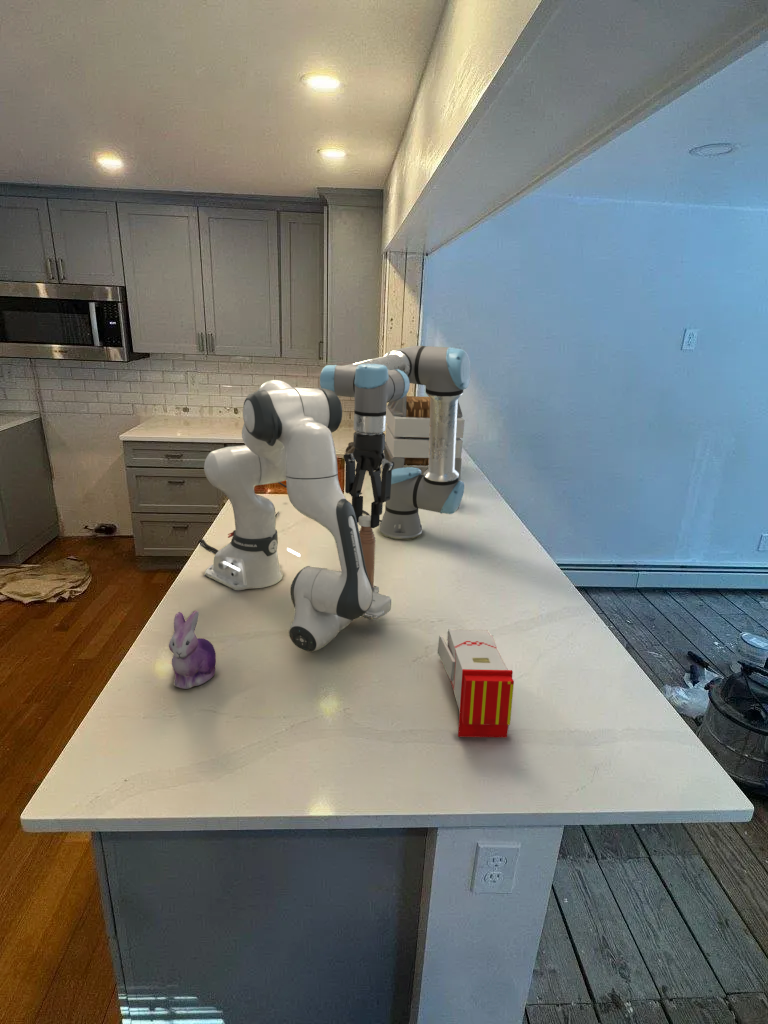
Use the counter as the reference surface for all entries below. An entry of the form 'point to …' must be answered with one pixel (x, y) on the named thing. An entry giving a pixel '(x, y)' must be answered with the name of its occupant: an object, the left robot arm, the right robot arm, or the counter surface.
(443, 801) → the counter surface
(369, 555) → the bottle
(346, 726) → the counter surface
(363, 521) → the cap
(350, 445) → the fossil
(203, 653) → the figurine
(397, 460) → the grey slatted box
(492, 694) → the toy
